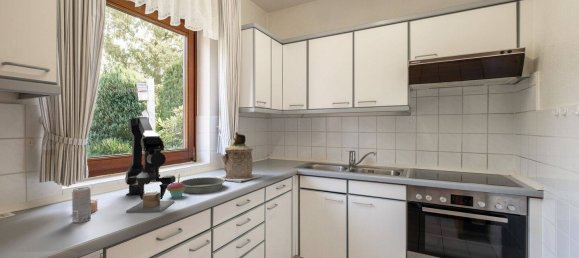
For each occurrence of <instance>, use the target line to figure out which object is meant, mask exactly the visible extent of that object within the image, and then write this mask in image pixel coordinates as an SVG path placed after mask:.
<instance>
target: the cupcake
mask: <svg viewBox="0 0 579 258" xmlns="http://www.w3.org/2000/svg"><path fill="white" fill-rule="evenodd" d="M180 177H181V173H179V174H178V178H177V182H173V183H172V184H169V185H168V187H167V189H166V191H167V192H169V193H170V196H171V198H172V199H173V198H175V199H177V198H182V196H183V193H184V192H183V191H184V190H185V187H186V186H185V185H184V184H183V183H181V181H180Z"/></svg>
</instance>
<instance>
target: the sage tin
mask: <svg viewBox="0 0 579 258" xmlns="http://www.w3.org/2000/svg"><path fill="white" fill-rule="evenodd" d="M150 192H158V189H155V190H148V191H146V193H145V194H147V193H150Z"/></svg>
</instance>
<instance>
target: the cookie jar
mask: <svg viewBox="0 0 579 258" xmlns="http://www.w3.org/2000/svg"><path fill="white" fill-rule="evenodd" d="M234 135H235V136H234V137H233V140H234V142H233V143H232V144H230V145H229V146H226V147H225V150H224V152H225V153H224V155H222V156H221V159H222V162H223V163H224V165H223V170H224V172H225V174H222V175H214V176H213V178H221V179H224V181H228V182H235V183H240V184H241V182H244V181H249V180H254V179H260V178H262V177H263V174H258V173H252V172H253V166H254V165H253V155H252V154H253V153H252V152H253V150H254V148H252V147H249V146H247V145H246V144H245V143H246V141H247V140H246V135H245V134H242V133H239V132H238V131H236V132H235V134H234Z"/></svg>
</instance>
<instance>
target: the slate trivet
mask: <svg viewBox="0 0 579 258" xmlns="http://www.w3.org/2000/svg"><path fill="white" fill-rule="evenodd" d="M174 203H175V200H160V204H158V205H157V206H155V207H143V201H140V202H139V203H137V204H135V205H133V206H131V207H130V208H128V209H126V210H125V213H162V212H163V211H164V210H165V209H167V208H169V207H170V206H172V205H173V204H174Z"/></svg>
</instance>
